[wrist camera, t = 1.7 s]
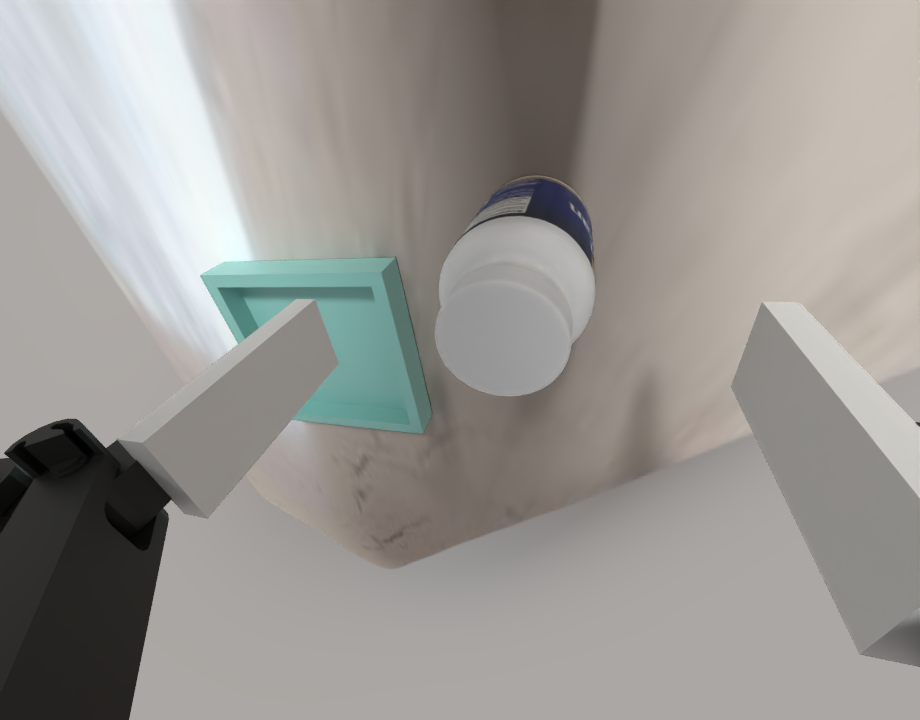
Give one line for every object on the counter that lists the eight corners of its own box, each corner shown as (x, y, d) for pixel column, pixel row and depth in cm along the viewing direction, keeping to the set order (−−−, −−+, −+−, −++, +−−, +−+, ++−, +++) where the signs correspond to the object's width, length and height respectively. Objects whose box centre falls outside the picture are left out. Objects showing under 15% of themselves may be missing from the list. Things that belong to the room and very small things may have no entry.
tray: (224, 262, 24) (199, 275, 23) (395, 257, 21) (380, 272, 19) (294, 401, 31) (280, 418, 30) (432, 413, 28) (423, 434, 26)
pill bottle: (606, 261, 18) (623, 396, 11) (506, 298, 21) (463, 427, 13) (568, 148, 16) (556, 220, 8) (459, 205, 18) (376, 299, 11)
